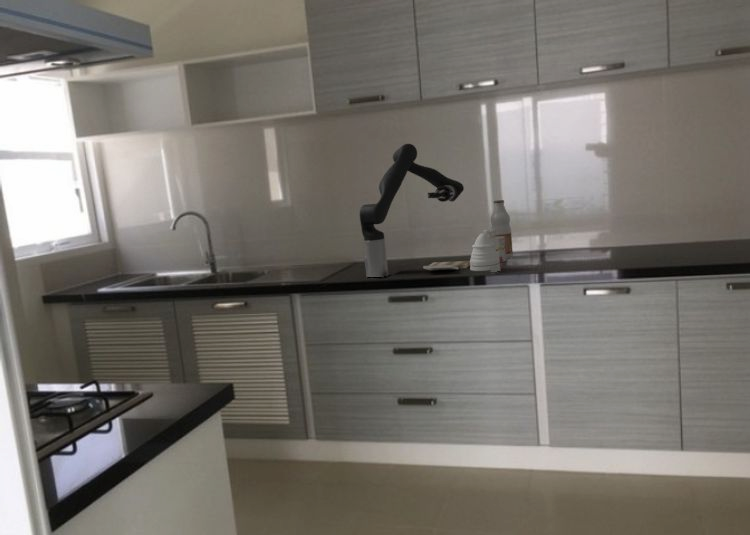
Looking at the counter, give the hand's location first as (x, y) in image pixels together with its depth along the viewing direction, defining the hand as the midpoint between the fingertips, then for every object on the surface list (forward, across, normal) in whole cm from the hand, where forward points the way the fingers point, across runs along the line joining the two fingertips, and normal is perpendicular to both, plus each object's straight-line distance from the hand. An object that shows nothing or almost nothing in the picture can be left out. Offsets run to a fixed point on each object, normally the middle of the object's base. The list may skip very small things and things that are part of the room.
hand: (435, 195), depth 297 cm
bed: (+4, +5, +34) cm, 35 cm away
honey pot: (+12, +23, +34) cm, 43 cm away
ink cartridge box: (-13, +24, +34) cm, 44 cm away
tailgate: (+11, +5, +32) cm, 35 cm away
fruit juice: (-25, +24, +34) cm, 49 cm away
